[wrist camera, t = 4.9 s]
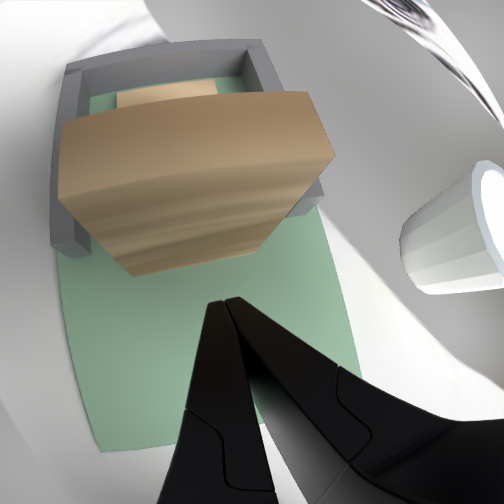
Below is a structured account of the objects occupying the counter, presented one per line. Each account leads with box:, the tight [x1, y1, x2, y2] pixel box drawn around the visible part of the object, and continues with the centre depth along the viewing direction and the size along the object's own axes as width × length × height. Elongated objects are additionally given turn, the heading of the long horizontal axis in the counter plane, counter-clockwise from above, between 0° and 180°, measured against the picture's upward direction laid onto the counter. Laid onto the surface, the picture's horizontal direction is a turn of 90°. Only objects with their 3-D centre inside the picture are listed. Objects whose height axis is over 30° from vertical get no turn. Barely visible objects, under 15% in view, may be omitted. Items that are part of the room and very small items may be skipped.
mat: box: [56, 76, 362, 453], centre depth 15 cm, size 22×14×1 cm, turn 14°
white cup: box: [399, 160, 504, 294], centre depth 14 cm, size 7×7×7 cm
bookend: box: [58, 79, 335, 277], centre depth 11 cm, size 11×6×9 cm, turn 14°
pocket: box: [50, 39, 324, 259], centre depth 15 cm, size 12×12×2 cm
